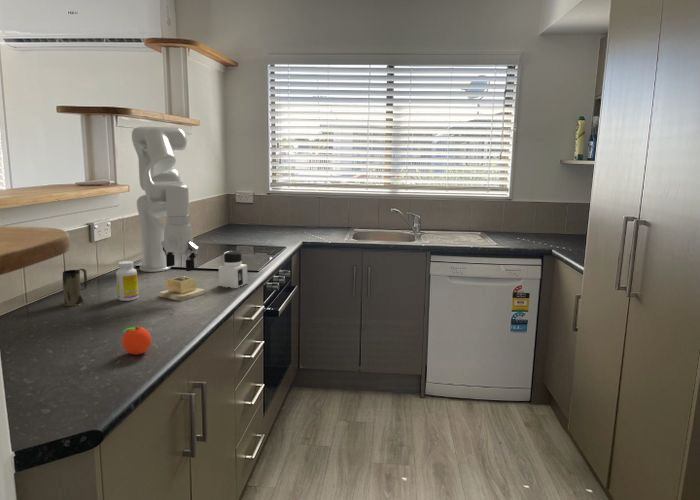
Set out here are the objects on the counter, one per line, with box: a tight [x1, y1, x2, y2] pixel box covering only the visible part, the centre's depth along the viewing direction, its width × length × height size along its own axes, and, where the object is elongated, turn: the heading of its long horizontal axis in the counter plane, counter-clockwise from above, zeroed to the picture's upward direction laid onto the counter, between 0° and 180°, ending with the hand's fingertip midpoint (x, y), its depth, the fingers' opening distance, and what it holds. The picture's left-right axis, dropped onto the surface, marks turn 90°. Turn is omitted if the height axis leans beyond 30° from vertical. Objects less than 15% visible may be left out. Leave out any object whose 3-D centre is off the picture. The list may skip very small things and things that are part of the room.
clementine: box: [118, 326, 152, 355], centre depth 136 cm, size 8×7×7 cm
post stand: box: [158, 278, 206, 302], centre depth 188 cm, size 11×11×6 cm
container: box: [218, 250, 248, 289], centre depth 201 cm, size 8×8×13 cm
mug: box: [62, 268, 88, 307], centre depth 176 cm, size 8×6×12 cm
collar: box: [166, 275, 197, 294], centre depth 188 cm, size 7×7×4 cm
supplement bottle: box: [115, 260, 140, 302], centre depth 183 cm, size 7×7×13 cm
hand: (180, 268), depth 188 cm, fingers open, 9 cm apart
